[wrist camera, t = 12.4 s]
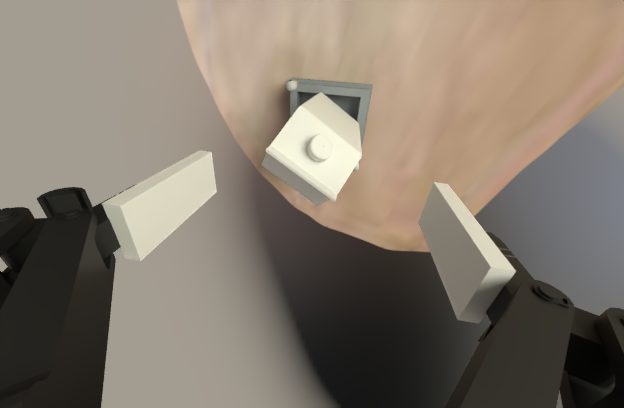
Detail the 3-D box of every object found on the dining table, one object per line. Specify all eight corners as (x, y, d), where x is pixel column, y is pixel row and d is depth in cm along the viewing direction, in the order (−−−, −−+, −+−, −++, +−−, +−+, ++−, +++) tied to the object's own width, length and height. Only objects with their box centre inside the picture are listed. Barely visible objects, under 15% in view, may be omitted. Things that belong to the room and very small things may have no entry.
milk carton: (329, 159, 38) (311, 227, 22) (293, 132, 37) (245, 181, 21) (359, 123, 35) (364, 170, 19) (320, 91, 34) (289, 111, 17)
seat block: (292, 77, 37) (284, 79, 32) (372, 84, 36) (374, 86, 31) (290, 154, 43) (283, 163, 38) (358, 162, 41) (359, 172, 37)
